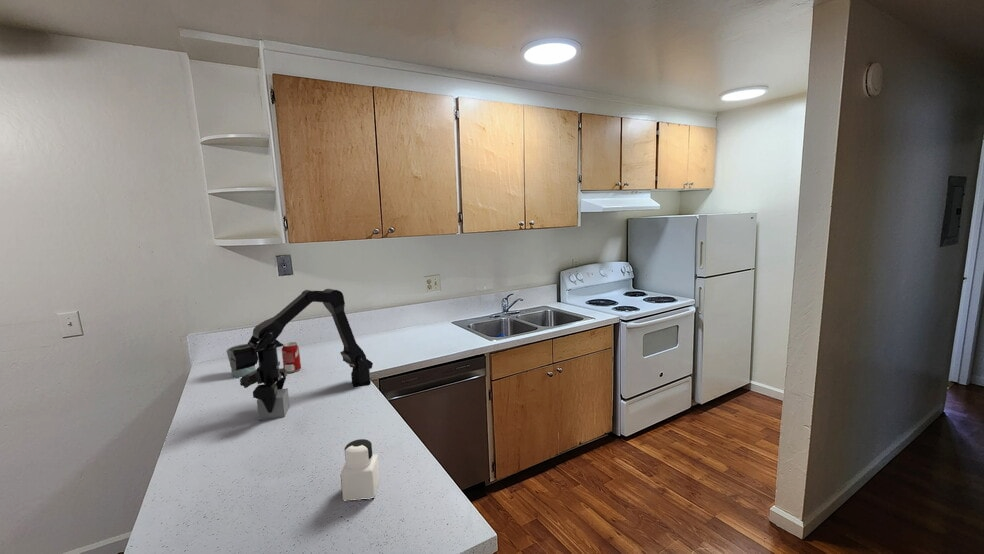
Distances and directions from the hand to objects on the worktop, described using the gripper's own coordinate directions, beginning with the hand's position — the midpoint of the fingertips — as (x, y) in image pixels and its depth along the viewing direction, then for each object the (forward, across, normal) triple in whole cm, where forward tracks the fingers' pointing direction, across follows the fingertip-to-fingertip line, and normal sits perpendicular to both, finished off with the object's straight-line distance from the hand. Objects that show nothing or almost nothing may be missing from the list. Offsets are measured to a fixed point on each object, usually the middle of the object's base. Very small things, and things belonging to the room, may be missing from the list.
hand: (273, 406), depth 141 cm
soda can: (+3, -43, -2) cm, 43 cm away
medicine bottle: (+3, +52, +31) cm, 60 cm away
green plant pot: (+3, -46, -22) cm, 51 cm away
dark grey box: (+2, 0, 0) cm, 3 cm away
